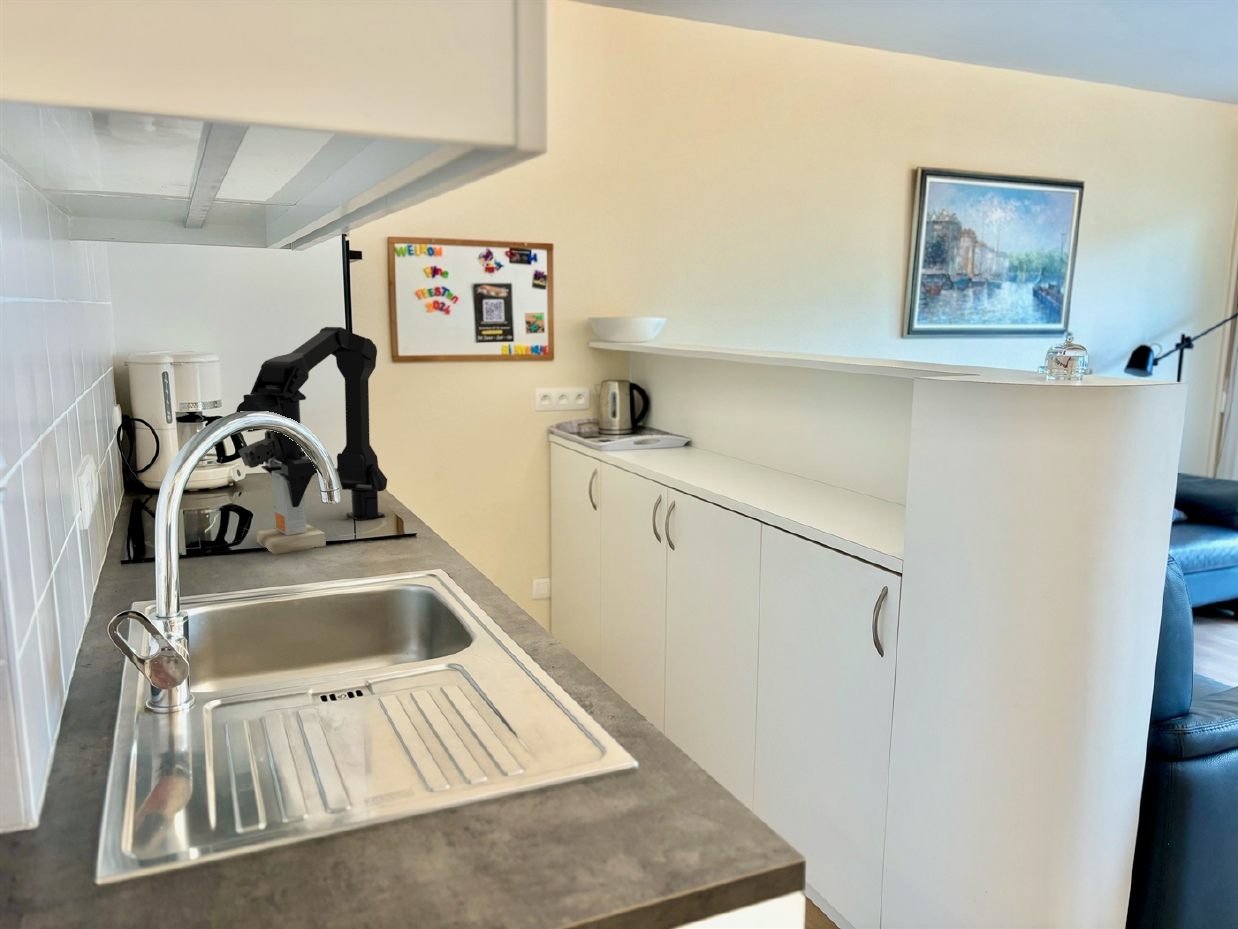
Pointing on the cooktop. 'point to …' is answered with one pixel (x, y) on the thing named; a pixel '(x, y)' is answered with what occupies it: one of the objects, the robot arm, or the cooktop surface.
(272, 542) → the beech block
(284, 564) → the cooktop surface
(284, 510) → the skincare box
